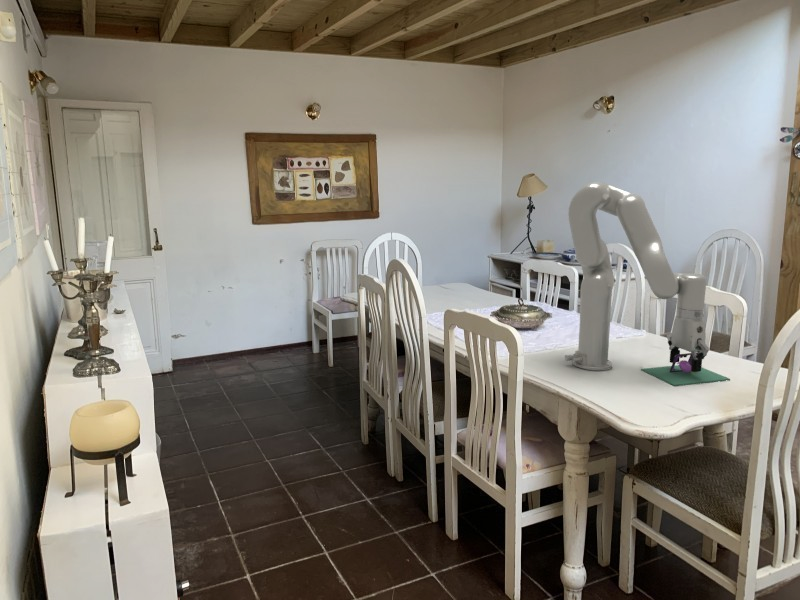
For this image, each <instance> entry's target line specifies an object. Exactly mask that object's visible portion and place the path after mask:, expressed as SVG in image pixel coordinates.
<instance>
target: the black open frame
mask: <svg viewBox="0 0 800 600" xmlns="http://www.w3.org/2000/svg"><path fill="white" fill-rule="evenodd" d="M696 354H697V355H698V352H696ZM687 356H689V358H688V359H687V360H685V359H683V358H687ZM679 357H680V358H679ZM678 358H679V359H681V358H682V359H683V360H679V362H676V361H677V360H678ZM692 359H694V358H693V355H692V353H691V352H689V353H680V354H677V355H675V358H674V361H673V363H671V365H670V366H671V369H670V371H669V372H679V371H684V372H691V373H692V374H693V375H694V373H693V372H692V371H691V365H692ZM675 365H679V367H680V369H681V370H676V371H673V370H675V369H674V366H675ZM672 369H673V370H672Z"/></svg>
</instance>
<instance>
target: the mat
mask: <svg viewBox="0 0 800 600" xmlns="http://www.w3.org/2000/svg"><path fill="white" fill-rule="evenodd" d="M671 366H672V365H667V366H657V367H647V368H646V367H645V368H640V371H641V372H643V373H645V374H648V375H650V376H652V377H654V378H655V379H658V380H660V381H662V382H663V383H664V382H665V383H667V384H669V385H670V386H673V387H682V386H690V385H691V386H692V385H701V384H710V382H711V383H719V382H718V381H720V382H727V381H726V380H729V381H731V378H729V377H727V376H724V375H722V374H719V373H717V372H714V371H711V370H709V369H707V368H705V367H701V371H699V372H693V373H694V375H693V374H692V373H691V372H684V371H679V372H669V371H670V369H671ZM674 369H675V370H673V369H672V370H673V371H676V370H681V369H680V367H679V364H675V366H674ZM700 383H701V384H700Z"/></svg>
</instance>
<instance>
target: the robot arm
mask: <svg viewBox="0 0 800 600" xmlns="http://www.w3.org/2000/svg"><path fill="white" fill-rule="evenodd" d="M598 210H599V211H602V212H604V213H608V214H609V215H613V216H615V217H618V221H619V222H620V224H621V226H622V228H623V230H624V232H625V235H626V238H627V239H628V242H629V244H630V247H631V248H632V250H633V253H634V255H635V258H636V259H637V261H638V263H639V265H640V268H641V270H642V272H643V274H644V277H645V279H646V281H647V283H648V286H649V287H650V290H651V292H652V294H653V295H654V296H655V297H656V298H658V299H660V300H669V299H672V298H674V297H675V296H676V295H677V301H676V311H675V312H676V313H675V317H674V321H673V326H672V332H670V333H668V334H666V338H667V343H668V346H669V347H668V348H669V353H670V354H669V363H670V364H672V363H673V361H674V358H675V355H677V354H681V350H684V351H686V352H689V353H692V355H693V358H694V359H692V365H691V371H692V372H699V371H701V367H702V366H703V365H702V363H703V360H704V359H705V357H707V356H708V355H707V354H708V352H709V350H710V348H709V346H708V345H707V344H706V339H707V338H706V323H705V320H704V316H705V315H704V310H705V309H704V308H705V300H706V289H707V288H706V287H707V278H706V276H705V275H703V274H702V273H701V274H700V273H690V272H688V273H681V272H676V271H675V272H674V271H673V270H672V268H671V265H670V264H669V262H668V258H667V257H666V254H665V250H664V247H663V243H662V239H661V237H660V235H659V233H658V231H657V229H656V226H655V224H654V222H653V220H652V218H651V216H650V213H649V212H648V209H647V207H646V203H645V201H644V199H643V198H642V197H641V196H639V195H637V194H635V193H631V192H629V191H626V190H623V189H621V188H617V187H616V186H612V185H610V184H607V183H605V182H602V181H601V182H600V181H592V182H589V183H587V184H585V185H584V186H583V187H581V188H580V189H579V190H578V191H577V192H576V193H575V194H574V195H573V197H572V199H571V201H570V203H569V207H568V212H567V213H568V222H569V223H568V224H569V228H570V231H571V232H570V234H571V238H572V239H571V240H572V243H573V249H574V253H575V254H574V255H575V259H576V261H577V263H578V264H579V265H581V266H580V267H581V270H582V275H583V279H582V281H581V284H580V289H579V290H580V294H579V296H580V301H579V302H580V307H579V327H578V328H579V331H578V347H577V349H578V350H575V351H574V353H572V354H565V355H564V360H565V362H567V361H569V362H570V361H572V365H573V366H575V367H576V368H579V369H582V370H587V371H606V370H611V368H613V362H612V361H611V360H609V347H610V328H611V316H612V315H611V313H612V312H611V311H612V294H613V290H614V289H613V288H614V285H615V277H614V276H615V275H614V272H613V267H612V262H611V258H610V254H609V249H608V246H607V244H606V242H605V241H604V240H603V239H602V237H601V235H600V230H599V224H598V223H599V222H598V220H597V211H598ZM680 349H681V350H680ZM697 352H698V355H697V354H696V353H697ZM680 359H681V358H680V357H679V358H678V360H677V361H676V363H678V362H680ZM702 368H703V367H702Z"/></svg>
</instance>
